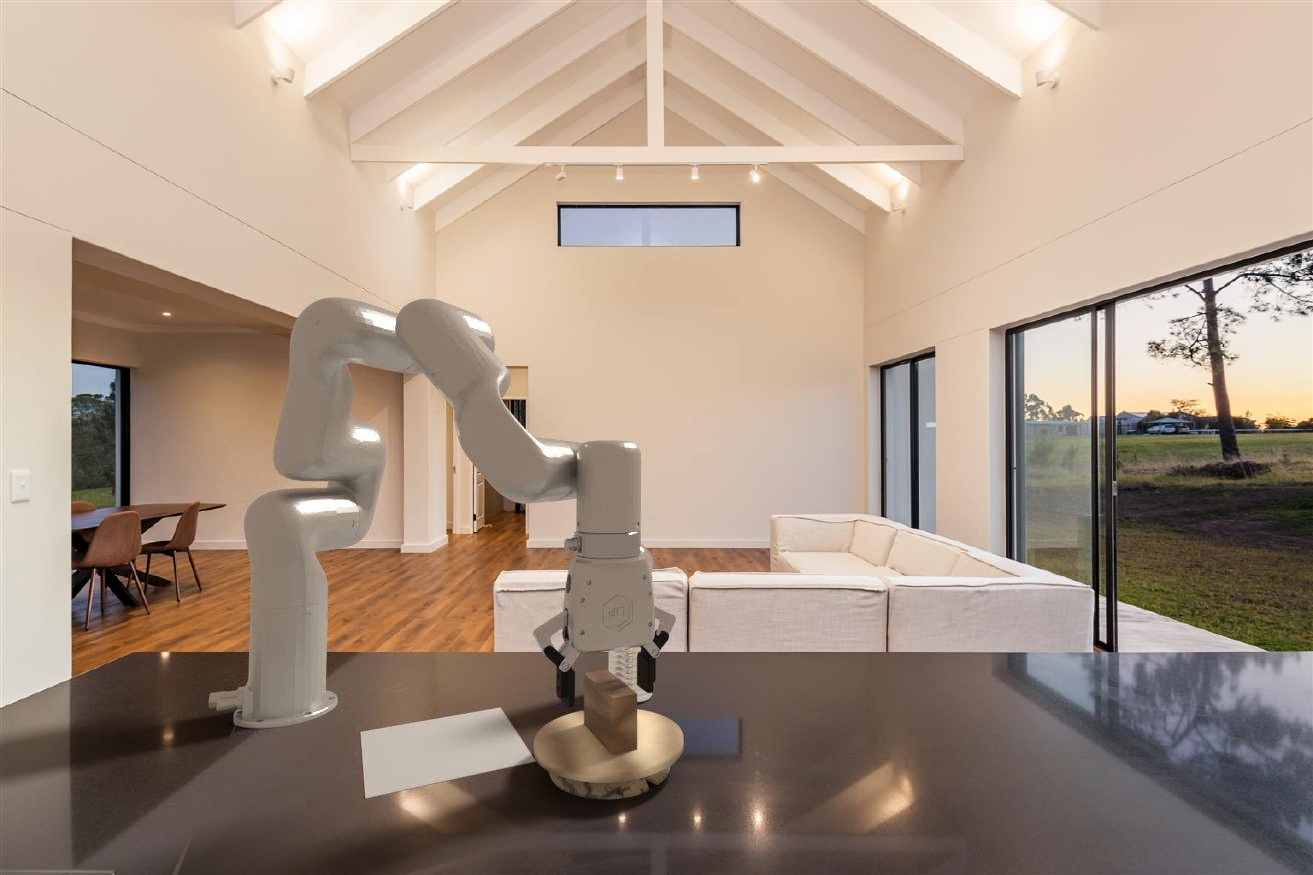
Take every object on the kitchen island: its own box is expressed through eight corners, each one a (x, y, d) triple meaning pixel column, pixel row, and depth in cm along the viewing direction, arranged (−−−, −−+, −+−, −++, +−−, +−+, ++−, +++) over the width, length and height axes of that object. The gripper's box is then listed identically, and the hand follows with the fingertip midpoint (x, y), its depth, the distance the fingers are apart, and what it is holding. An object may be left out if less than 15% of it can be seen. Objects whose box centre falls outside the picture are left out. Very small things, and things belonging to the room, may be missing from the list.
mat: (365, 803, 64) (365, 798, 64) (360, 736, 80) (360, 731, 80) (535, 765, 72) (535, 760, 72) (500, 711, 88) (500, 707, 88)
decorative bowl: (583, 740, 81) (515, 795, 67) (584, 711, 81) (516, 759, 67) (692, 762, 75) (642, 827, 61) (693, 730, 75) (643, 788, 61)
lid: (559, 797, 60) (559, 723, 60) (518, 730, 75) (518, 671, 75) (711, 760, 67) (710, 695, 67) (645, 706, 82) (645, 653, 83)
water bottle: (647, 706, 90) (648, 533, 91) (602, 703, 91) (603, 532, 93) (657, 690, 97) (657, 529, 98) (614, 686, 98) (615, 528, 99)
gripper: (545, 555, 65) (543, 722, 64) (689, 546, 73) (688, 694, 72) (526, 546, 72) (524, 697, 71) (659, 539, 79) (659, 675, 79)
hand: (607, 696), depth 71 cm, fingers open, 9 cm apart
